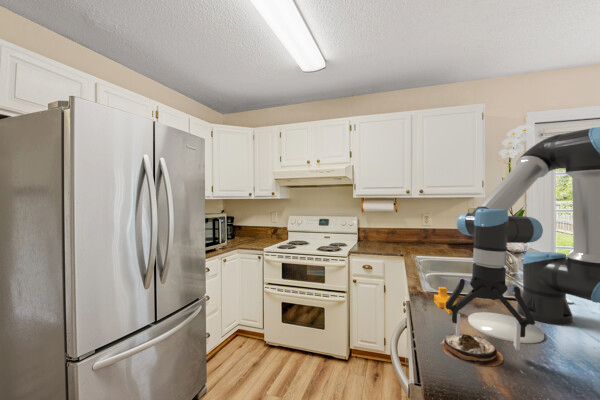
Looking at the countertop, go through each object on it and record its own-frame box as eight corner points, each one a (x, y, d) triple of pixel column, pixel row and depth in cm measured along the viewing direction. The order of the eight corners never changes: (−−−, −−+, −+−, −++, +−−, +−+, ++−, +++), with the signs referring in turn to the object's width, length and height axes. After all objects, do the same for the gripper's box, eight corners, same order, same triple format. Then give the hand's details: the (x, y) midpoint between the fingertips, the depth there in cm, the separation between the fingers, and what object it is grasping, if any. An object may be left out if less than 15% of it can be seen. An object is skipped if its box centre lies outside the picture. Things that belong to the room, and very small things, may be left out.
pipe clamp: (433, 302, 114) (433, 286, 114) (445, 302, 113) (445, 287, 113) (444, 314, 102) (444, 297, 102) (456, 315, 101) (456, 297, 101)
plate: (532, 322, 95) (532, 319, 95) (554, 351, 77) (555, 347, 77) (465, 311, 104) (465, 308, 104) (471, 335, 86) (471, 331, 86)
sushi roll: (511, 371, 67) (510, 354, 67) (442, 360, 72) (442, 344, 73) (494, 343, 81) (493, 328, 81) (437, 335, 86) (437, 321, 86)
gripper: (542, 268, 73) (539, 346, 73) (438, 256, 84) (435, 324, 85) (553, 274, 67) (549, 361, 67) (438, 261, 78) (435, 335, 78)
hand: (485, 341), depth 76 cm, fingers open, 13 cm apart
